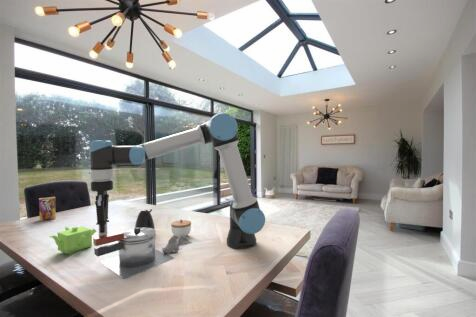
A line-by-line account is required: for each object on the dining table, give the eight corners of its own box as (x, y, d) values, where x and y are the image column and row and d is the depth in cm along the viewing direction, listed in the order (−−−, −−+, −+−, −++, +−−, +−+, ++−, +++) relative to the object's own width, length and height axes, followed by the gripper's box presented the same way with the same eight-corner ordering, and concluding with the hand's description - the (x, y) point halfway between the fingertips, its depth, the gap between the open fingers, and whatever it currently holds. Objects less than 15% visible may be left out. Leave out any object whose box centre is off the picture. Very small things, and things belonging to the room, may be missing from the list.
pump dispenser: (159, 235, 135) (158, 208, 135) (144, 241, 126) (144, 212, 125) (145, 233, 139) (145, 206, 139) (130, 238, 130) (130, 210, 129)
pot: (144, 249, 112) (144, 228, 112) (162, 258, 103) (162, 235, 103) (89, 268, 94) (88, 243, 94) (104, 281, 85) (104, 253, 85)
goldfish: (171, 237, 128) (183, 225, 127) (183, 250, 127) (196, 239, 126) (153, 254, 108) (168, 240, 107) (168, 270, 108) (183, 257, 106)
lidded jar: (186, 240, 127) (186, 223, 126) (167, 239, 129) (167, 221, 128) (194, 234, 137) (194, 217, 137) (176, 232, 139) (176, 216, 139)
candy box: (55, 217, 174) (55, 196, 173) (55, 218, 170) (55, 197, 170) (39, 219, 168) (39, 198, 168) (39, 221, 165) (38, 198, 164)
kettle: (48, 259, 105) (48, 233, 105) (63, 247, 119) (62, 224, 119) (87, 255, 109) (87, 230, 109) (97, 244, 123) (96, 222, 123)
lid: (146, 228, 112) (146, 221, 112) (161, 235, 102) (161, 228, 102) (89, 241, 96) (89, 233, 96) (100, 251, 85) (100, 242, 85)
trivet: (175, 260, 103) (175, 258, 103) (124, 281, 86) (123, 278, 86) (147, 247, 117) (147, 245, 117) (99, 263, 100) (99, 261, 100)
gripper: (94, 178, 99) (96, 235, 100) (86, 182, 87) (88, 247, 88) (115, 177, 102) (116, 233, 102) (109, 181, 89) (111, 244, 90)
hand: (103, 239), depth 95 cm, fingers closed
